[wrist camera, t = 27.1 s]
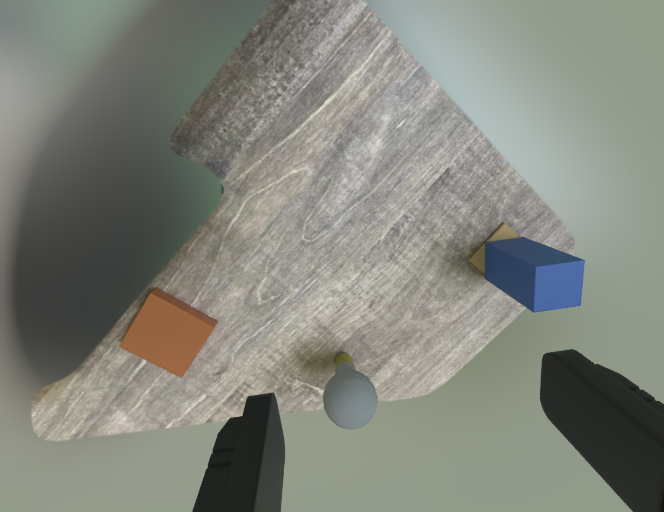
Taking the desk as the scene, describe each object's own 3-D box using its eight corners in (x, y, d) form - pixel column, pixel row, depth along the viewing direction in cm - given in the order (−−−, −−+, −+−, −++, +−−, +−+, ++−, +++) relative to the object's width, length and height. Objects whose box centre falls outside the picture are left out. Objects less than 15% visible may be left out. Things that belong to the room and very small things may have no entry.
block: (484, 278, 40) (533, 312, 31) (484, 242, 38) (535, 266, 30) (522, 273, 40) (581, 306, 31) (523, 236, 38) (585, 259, 30)
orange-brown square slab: (125, 339, 39) (118, 346, 38) (156, 287, 38) (150, 292, 36) (186, 370, 41) (181, 378, 39) (218, 321, 39) (214, 327, 38)
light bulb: (329, 383, 43) (335, 449, 33) (314, 347, 41) (316, 405, 32) (371, 369, 42) (389, 431, 33) (357, 332, 41) (372, 386, 31)
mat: (468, 260, 39) (470, 261, 39) (503, 222, 38) (505, 223, 38) (501, 288, 41) (503, 289, 40) (536, 252, 40) (538, 253, 39)
